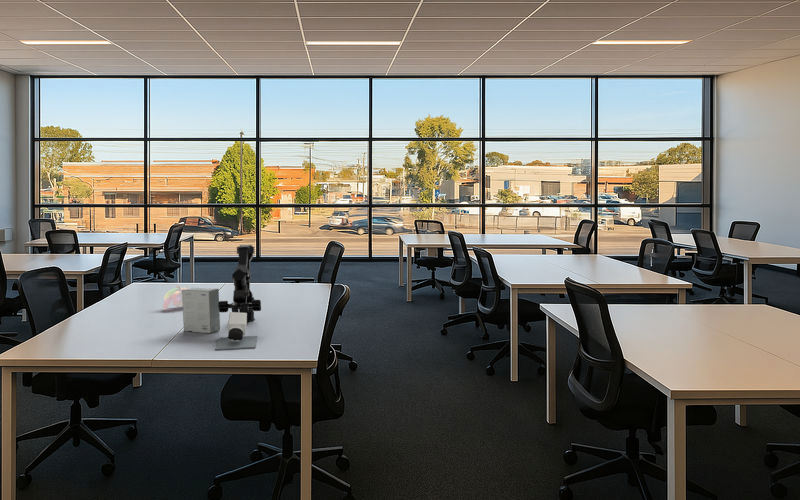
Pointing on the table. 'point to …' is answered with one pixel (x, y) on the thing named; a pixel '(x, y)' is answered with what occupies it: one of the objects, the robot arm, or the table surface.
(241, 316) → the medicine bottle
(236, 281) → the robot arm
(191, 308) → the hard drive box
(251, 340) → the mat
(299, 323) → the table surface
